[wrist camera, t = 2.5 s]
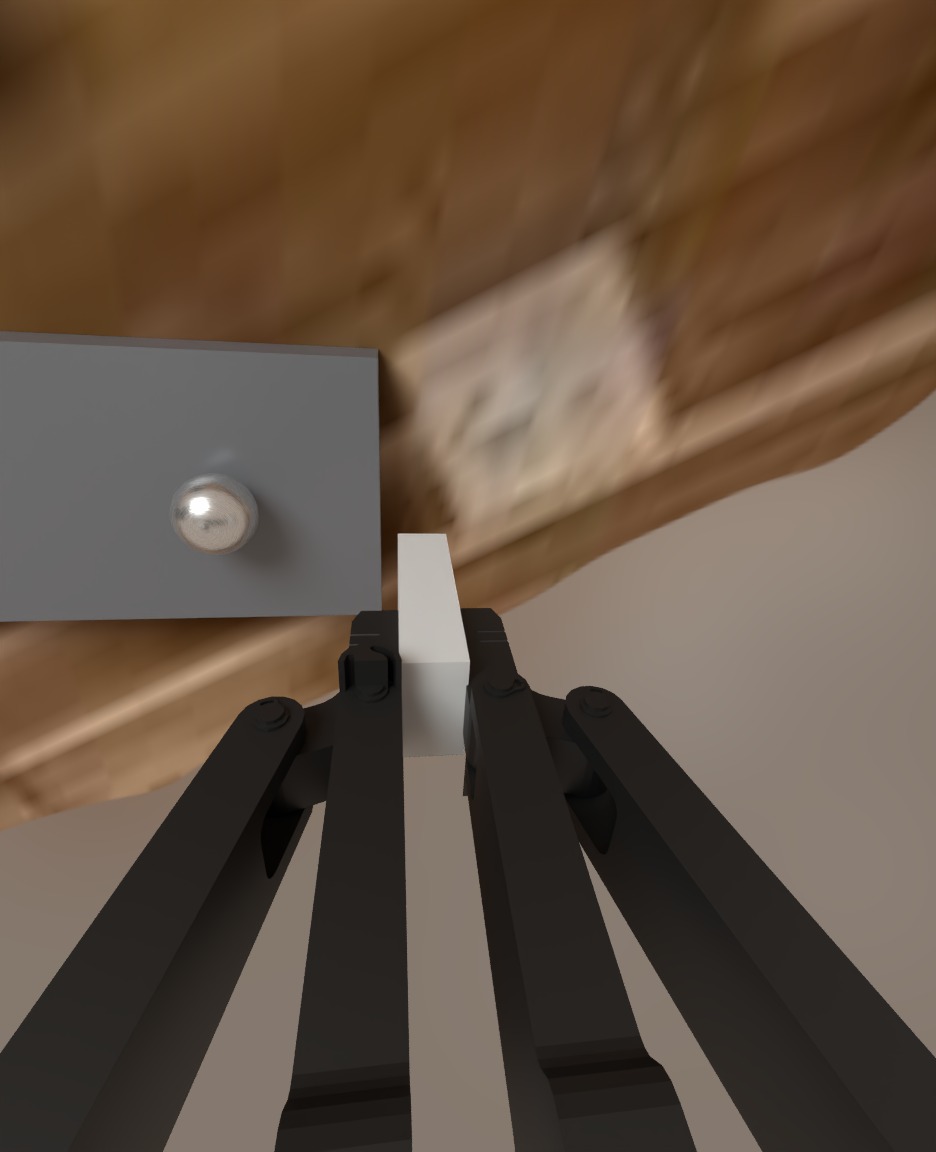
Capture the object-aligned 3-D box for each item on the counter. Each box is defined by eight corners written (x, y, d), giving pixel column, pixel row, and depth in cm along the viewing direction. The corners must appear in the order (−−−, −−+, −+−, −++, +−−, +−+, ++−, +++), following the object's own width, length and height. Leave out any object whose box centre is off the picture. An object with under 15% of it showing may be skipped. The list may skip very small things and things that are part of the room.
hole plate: (-178, 593, 24) (-233, 626, 22) (-337, 315, 19) (-430, 322, 17) (382, 586, 28) (381, 614, 26) (378, 348, 22) (377, 357, 20)
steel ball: (191, 534, 23) (166, 569, 20) (177, 461, 21) (148, 489, 19) (269, 534, 23) (254, 568, 20) (260, 463, 22) (243, 490, 19)
